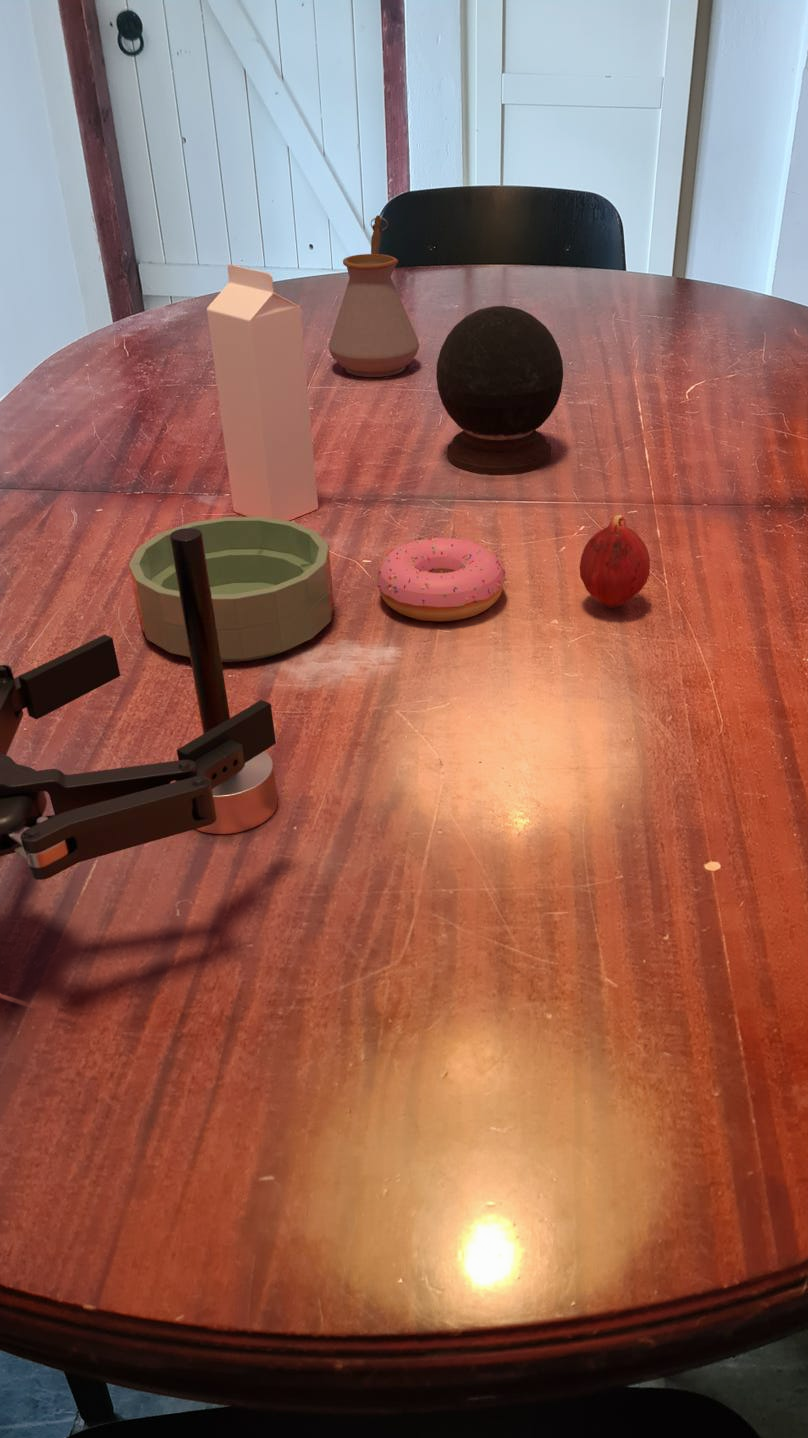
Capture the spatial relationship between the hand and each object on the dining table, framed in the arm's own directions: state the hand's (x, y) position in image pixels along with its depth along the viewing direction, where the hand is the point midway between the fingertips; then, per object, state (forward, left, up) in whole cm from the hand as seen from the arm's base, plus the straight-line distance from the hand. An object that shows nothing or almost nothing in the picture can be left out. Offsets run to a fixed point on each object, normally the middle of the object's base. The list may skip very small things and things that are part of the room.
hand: (187, 686), depth 75 cm
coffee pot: (-35, +97, -10) cm, 103 cm away
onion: (+15, +39, -10) cm, 43 cm away
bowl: (-13, +25, -10) cm, 29 cm away
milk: (-22, +47, -10) cm, 52 cm away
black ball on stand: (-7, +69, -10) cm, 70 cm away
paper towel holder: (0, +2, -10) cm, 10 cm away
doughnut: (+1, +35, -10) cm, 36 cm away
